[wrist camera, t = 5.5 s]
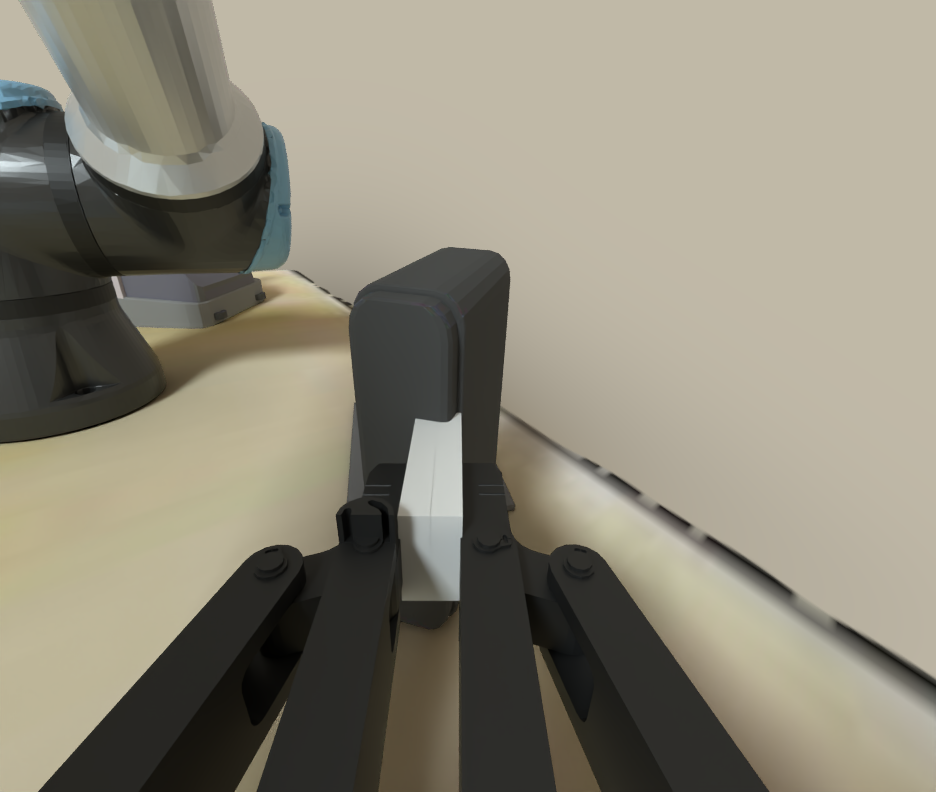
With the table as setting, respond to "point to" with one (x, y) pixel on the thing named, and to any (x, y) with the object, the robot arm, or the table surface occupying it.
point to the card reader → (430, 365)
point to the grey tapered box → (186, 298)
